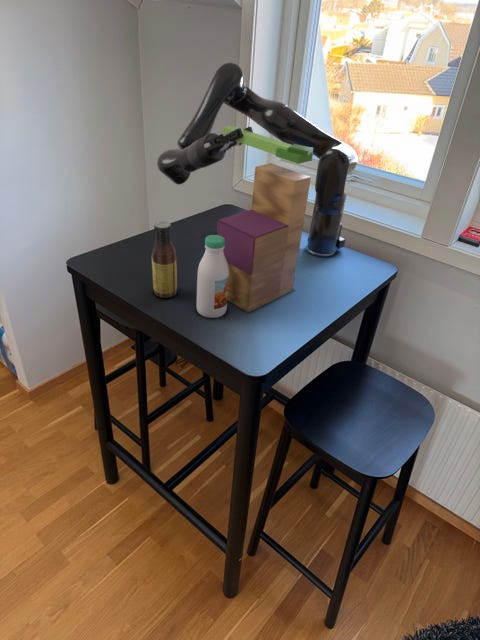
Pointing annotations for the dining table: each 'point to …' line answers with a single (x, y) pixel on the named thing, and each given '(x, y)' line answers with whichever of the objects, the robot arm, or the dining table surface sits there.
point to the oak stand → (272, 238)
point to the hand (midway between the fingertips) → (246, 131)
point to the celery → (274, 146)
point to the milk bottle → (213, 279)
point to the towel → (244, 236)
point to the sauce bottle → (164, 261)
